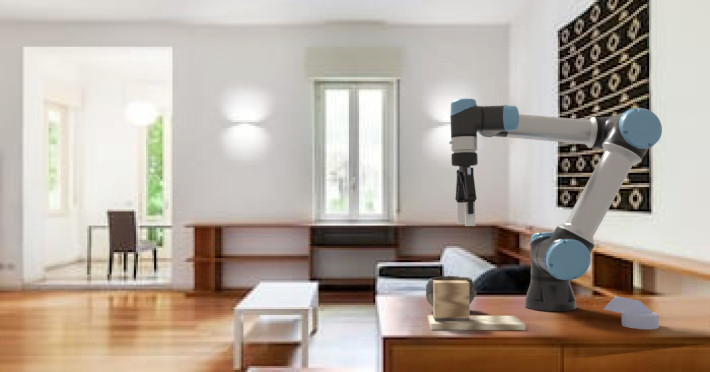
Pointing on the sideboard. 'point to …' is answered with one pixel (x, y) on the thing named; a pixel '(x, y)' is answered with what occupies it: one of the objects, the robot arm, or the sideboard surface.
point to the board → (479, 323)
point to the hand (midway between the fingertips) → (465, 225)
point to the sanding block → (451, 300)
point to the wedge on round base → (634, 313)
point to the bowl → (430, 283)
